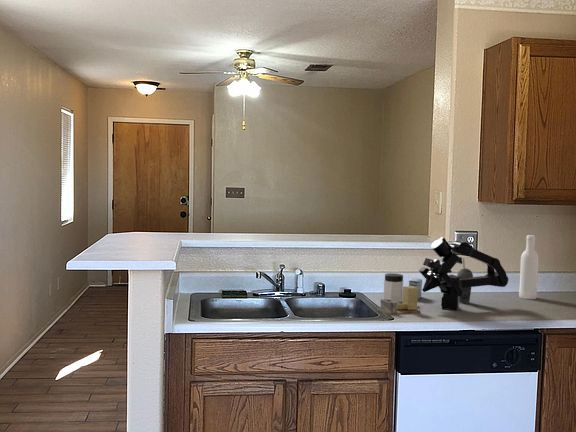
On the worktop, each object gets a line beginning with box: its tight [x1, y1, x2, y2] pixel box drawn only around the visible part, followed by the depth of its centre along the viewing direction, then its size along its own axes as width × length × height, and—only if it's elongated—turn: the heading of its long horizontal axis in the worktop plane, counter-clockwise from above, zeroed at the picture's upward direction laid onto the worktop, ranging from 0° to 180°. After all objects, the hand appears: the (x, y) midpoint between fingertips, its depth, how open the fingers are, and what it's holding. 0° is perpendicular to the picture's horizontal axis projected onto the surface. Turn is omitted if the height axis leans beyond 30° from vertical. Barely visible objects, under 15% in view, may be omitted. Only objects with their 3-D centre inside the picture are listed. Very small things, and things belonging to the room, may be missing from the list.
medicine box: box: [408, 277, 423, 301], centre depth 278 cm, size 8×4×9 cm, turn 155°
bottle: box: [518, 234, 540, 300], centre depth 284 cm, size 8×8×30 cm
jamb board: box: [379, 298, 421, 316], centre depth 250 cm, size 14×8×5 cm, turn 109°
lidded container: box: [383, 272, 404, 304], centre depth 270 cm, size 9×8×12 cm
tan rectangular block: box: [397, 285, 418, 310], centre depth 250 cm, size 9×4×9 cm, turn 109°
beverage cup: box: [456, 258, 474, 304], centre depth 270 cm, size 7×7×20 cm
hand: (423, 291), depth 253 cm, fingers closed
